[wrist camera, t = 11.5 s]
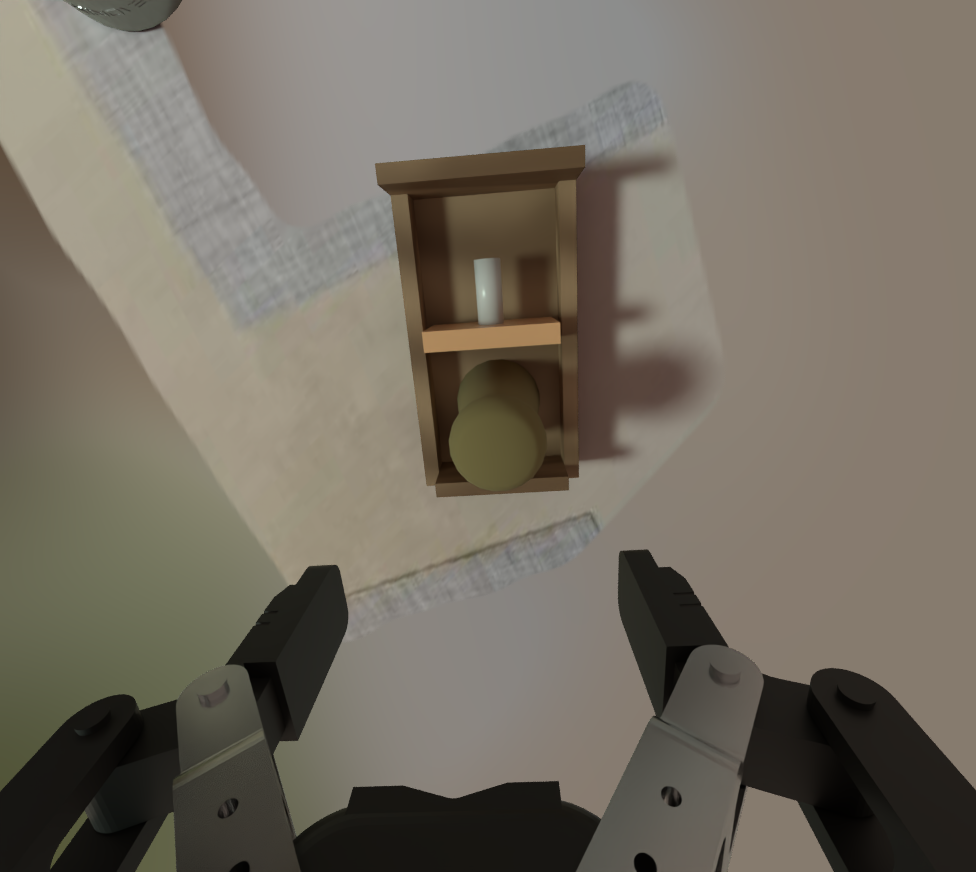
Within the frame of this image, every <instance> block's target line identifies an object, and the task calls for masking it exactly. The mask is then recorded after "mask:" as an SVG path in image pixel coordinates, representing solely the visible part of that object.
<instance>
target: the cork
mask: <svg viewBox="0 0 976 872" xmlns="http://www.w3.org/2000/svg"><path fill="white" fill-rule="evenodd" d="M457 402H458V411H459V414H458V416H457V418H456V419H455V421H454V422H453V425H452V428H451V432H450V437H449V448H450V455H451V458H452V460H453V462H454V464H455V466H456V468H457V470H458V472H459V473H460V474H461V475H462V476H463V477H464V478H465V479H466V480H467V481H468V482H470V483H471V484H473V485H475V486H477V487H479V488H481V489H485V490H490V491H509V490H511V489H514V488H517V487H519V486H522V485H523V484H525V483H526V482H527V481H529V480H530V479H531V478H533V477H534V475H535V474H536V473H537V471H538V470H539V468H540V467H541V465H542V463H543V461H544V457H545V454H546V450H547V435H546V431H545V429H544V426H543V424H542V421H541V419H540V416H539V415H538V412H539V406H540V395H539V389H538V387H537V384H536V382H535V379H534V378H533V377H532V376H531V374H530V373H529V372H528V371H527V370H526V369H525V368H523V367H522V366H520V365H518V364H517V363H515V362H511V361H507V360H503V359H498V360H488V361H486V362H483V363H481V364H478V365H476V366H475V367H474V368H473V369H472V370H470V371H469V372H468V373H467V374H466V375H465V377H464V379H463V380H462V382H461V384H460V386H459V391H458V395H457Z"/></svg>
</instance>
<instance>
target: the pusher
mask: <svg viewBox="0 0 976 872" xmlns="http://www.w3.org/2000/svg"><path fill="white" fill-rule="evenodd" d="M474 271H475V284H476V297H477V310H478V322H469V323H455V324H441V325H433V326H431V327H430V328H428V329H426V330H425V331H423V332H422V339H423V347H424V353H431V352H446V351H460V350H475V349H489V348H504V347H519V346H533V345H548V344H561V336H560V322H559V321H557V320H556V319H554V318H552V317H539V318H525V319H511V320H504V315H503V297H502V280H501V263H500V258H486V259H477V260H474Z"/></svg>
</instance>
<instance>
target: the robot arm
mask: <svg viewBox="0 0 976 872" xmlns="http://www.w3.org/2000/svg"><path fill="white" fill-rule="evenodd" d="M64 1H65V2H67V3H68V4H70V5H71V6H73V7H74V8H76V9H77V10H79V11H80V12H82V13H83V14H85V15H87V16H88V17H90V18H92V19H93V20H95V21H97V22H99V23H101V24H103V25H105V26H107V27H111V28H115V29H118V30H122V31H140V30H144V29H148V28H152V27H154V26H156V25H158V24H160V23H161V22H163V21H165V20H166V19H167V18H168V17H169V16H170V15H171V14H172V13H173V12H174V11H175V10H176V9H177V8H178V6H179V5H180V3H181V1H182V0H64ZM618 604H619V611H620V616H621V620H622V623H623V625H624V628H625V631H626V634H627V637H628V639H629V642H630V645H631V648H632V650H633V653H634V656H635V659H636V661H637V664H638V667H639V670H640V672H641V675H642V678H643V681H644V683H645V686H646V689H647V692H648V694H649V697H650V700H651V703H652V705H653V708H654V711H655V714H656V716H653V717H652V718H651V719H650V721H649V722H648V724H647V727H646V728H645V730H644V733H643V734H642V737H641V739H640V741H639V743H638V745H637V747H636V749H635V751H634V753H633V755H632V757H631V759H630V762H629V763H628V765H627V767H626V770H625V772H624V774H623V776H622V778H621V780H620V782H619V784H618V786H617V789H616V790H615V792H614V794H613V796H612V798H611V800H610V803H609V805H608V807H607V809H606V811H605V813H604V815H603V817H602V819H600V818H599V817H598V816H596V815H594V814H592V813H591V812H589V811H587V810H585V809H584V808H581V807H579V806H577V805H574V804H572V803H568V802H565V801H561V797H560V788H559V782H558V781H549V782H514V783H505V784H502V785H498V786H495V787H492V788H489V789H486V790H482V791H479V792H476V793H473V794H469V795H466V796H463V797H460V798H453V799H452V798H446V797H443V796H439V795H435V794H432V793H428V792H424V791H421V790H417V789H413V788H410V787H406V786H375V787H353V790H352V793H351V797H350V800H349V804H348V807H347V808H344V809H341V810H339V811H336V812H334V813H332V814H330V815H328V816H326V817H324V818H323V819H321V820H319V821H317V822H316V823H314V824H313V825H311V826H310V827H309V828H307V829H306V830H304V831H303V832H302V833H301V834H300V835H299V836H296V833H295V829H294V826H293V822H292V819H291V816H290V812H289V808H288V805H287V801H286V798H285V794H284V790H283V787H282V783H281V779H280V776H279V772H278V769H277V765H276V762H275V759H274V755H273V753H274V751H275V749H276V747H277V745H278V743H279V741H298V739H299V737H300V735H301V732H302V730H303V728H304V726H305V723H306V721H307V719H308V717H309V714H310V712H311V710H312V707H313V705H314V703H315V701H316V698H317V696H318V694H319V692H320V689H321V687H322V685H323V683H324V680H325V678H326V676H327V673H328V671H329V669H330V667H331V664H332V662H333V660H334V658H335V655H336V653H337V651H338V648H339V646H340V644H341V642H342V639H343V637H344V635H345V632H346V629H347V625H348V608H347V603H346V598H345V593H344V588H343V584H342V579H341V574H340V570H339V568H338V566H337V565H322V566H309V567H308V568H307V569H306V571H305V572H304V573H303V575H302V576H301V578H300V579H299V581H298V582H297V584H296V585H289V586H288V587H287V588H285V589H284V590H283V591H282V592H280V593H279V594H278V595H277V596H275V597H274V598H273V600H272V601H271V602H270V604H269V605H268V606H267V608H266V609H265V611H264V614H262V615H261V616H260V618H259V619H258V621H257V622H256V626H253V627H252V629H251V630H250V632H249V633H248V634H247V636H246V637H245V639H244V640H243V641H242V643H241V644H240V646H239V647H238V648H237V650H236V651H235V652H234V654H233V655H232V657H231V658H230V659H229V661H228V663H227V664H226V665H225V666H221V667H217V668H214V669H212V670H210V671H208V672H206V673H204V674H202V675H201V676H199V677H197V678H196V679H195V680H193V681H192V682H191V683H190V684H189V685H188V686H187V687H186V688H185V689H184V690H183V691H182V693H181V694H180V696H179V698H178V699H177V700H174V701H171V702H167V703H164V704H160V705H157V706H154V707H150V708H147V709H143V710H139V708H138V706H137V703H136V701H135V699H134V698H133V697H132V696H129V695H125V694H122V695H114V696H110V697H106V698H104V699H101V700H98V701H96V702H94V703H92V704H90V705H88V706H86V707H85V708H83V709H82V710H80V711H79V712H77V713H76V714H74V715H73V716H72V717H71V718H69V719H68V720H67V721H66V722H65V723H64V724H63V725H62V726H61V727H60V728H59V729H58V730H57V731H56V732H55V733H54V734H53V735H52V736H51V738H50V739H49V740H48V741H47V742H46V743H45V744H44V745H43V746H42V747H41V748H40V749H39V750H38V752H37V753H36V754H35V755H34V756H33V757H32V758H31V759H30V760H29V761H28V762H27V763H26V764H25V766H24V767H23V768H22V769H21V770H20V771H19V772H18V773H17V774H16V775H15V776H14V777H13V779H12V780H11V781H10V782H9V783H8V784H7V785H6V786H5V787H4V788H3V789H2V790H1V792H0V872H135V871H136V869H137V867H138V866H139V864H140V862H141V860H142V859H143V857H144V855H145V854H146V852H147V850H148V848H149V847H150V845H151V843H152V841H153V839H154V838H155V836H156V834H157V833H158V831H159V829H160V827H161V826H162V824H163V822H164V820H165V818H166V817H167V815H168V813H171V812H174V828H175V848H176V869H177V872H728V867H729V863H730V859H731V854H732V850H733V846H734V842H735V837H736V834H737V830H738V825H739V821H740V817H741V813H742V809H743V804H744V800H745V796H746V792H747V788H748V787H752V788H755V789H759V790H762V791H765V792H769V793H772V794H776V795H780V796H782V797H786V798H790V799H793V800H796V801H798V803H799V805H800V807H801V809H802V811H803V813H804V815H805V817H806V818H807V821H808V823H809V824H810V827H811V828H812V830H813V832H814V834H815V836H816V838H817V840H818V842H819V844H820V846H821V848H822V850H823V852H824V853H825V855H826V857H827V859H828V861H829V863H830V865H831V867H832V869H833V871H834V872H976V790H975V789H974V788H973V787H972V785H971V784H970V783H969V782H968V781H967V780H966V779H965V778H964V776H963V775H962V774H961V773H960V772H959V771H958V770H957V768H956V767H955V766H954V765H953V764H952V763H951V761H950V760H949V759H948V758H947V757H946V756H945V755H944V754H943V752H942V751H941V750H940V749H939V748H938V747H937V746H936V744H935V743H934V742H933V741H932V740H931V739H930V738H929V736H928V735H927V734H926V733H925V732H924V731H923V730H922V729H921V727H920V726H919V725H918V724H917V723H916V722H915V721H914V720H913V718H912V717H911V716H910V715H909V714H908V713H907V711H906V710H905V709H904V708H903V707H902V706H901V705H900V703H899V702H898V701H897V700H896V699H895V698H894V697H893V696H892V695H891V694H890V693H889V692H888V691H887V690H886V689H884V688H883V687H882V686H880V685H879V684H877V683H876V682H874V681H872V680H870V679H869V678H866V677H864V676H862V675H860V674H857V673H854V672H851V671H848V670H843V669H836V668H835V669H834V668H828V669H822V670H819V671H817V672H816V673H815V674H814V675H813V676H812V678H811V682H810V685H806V684H801V683H797V682H791V681H787V680H782V679H778V678H774V677H770V676H767V675H765V674H762V673H761V671H760V670H759V668H758V667H757V665H756V664H755V663H754V662H753V661H752V660H750V658H748V657H747V656H745V655H744V654H742V653H740V652H739V651H736V650H734V649H732V648H729V647H728V645H727V644H726V642H725V640H724V639H723V637H722V636H721V634H720V632H719V631H718V629H717V628H716V626H715V625H714V623H713V621H712V620H711V618H710V617H709V615H708V613H707V612H706V610H705V609H704V607H703V606H701V603H700V601H699V599H698V598H697V596H696V595H694V591H693V590H692V588H691V587H690V585H689V583H688V582H687V580H686V579H685V578H684V577H683V576H681V575H680V574H679V573H677V572H676V571H675V570H673V569H672V568H671V567H659V568H658V566H657V564H656V562H655V561H654V559H653V557H652V555H651V553H650V552H649V550H629V551H620V553H619V573H618ZM84 810H85V812H86V814H87V816H88V818H87V819H86V821H85V822H84V824H83V825H82V827H81V828H80V829H79V831H78V832H77V833H76V835H75V836H74V838H73V839H72V840H71V842H70V843H69V844H68V846H67V847H66V849H65V850H64V851H63V853H62V854H61V856H60V857H59V858H58V860H57V861H56V863H55V864H54V865H53V867H52V868H51V870H50V865H51V862H52V859H53V856H54V854H55V852H56V850H57V848H58V846H59V844H60V843H61V841H62V840H63V839H64V837H65V836H66V835H67V833H68V832H69V830H70V829H71V828H72V826H73V825H74V824H75V822H76V821H77V820H78V818H79V817H80V815H81V814H82V813H83V811H84Z"/></svg>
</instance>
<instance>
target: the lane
mask: <svg viewBox="0 0 976 872" xmlns="http://www.w3.org/2000/svg"><path fill="white" fill-rule="evenodd" d="M375 167H376V175H377V183H378V185H379V186H380V187H381V188H382V189H383V190H385V191H386V192H387V193H388V194H389V195H391V202H392V211H393V219H394V227H395V235H396V243H397V251H398V259H399V267H400V275H401V283H402V291H403V299H404V307H405V315H406V323H407V331H408V339H409V347H410V355H411V363H412V371H413V379H414V387H415V395H416V403H417V411H418V419H419V427H420V435H421V443H422V451H423V459H424V468H425V476H426V484H427V486H432V485H435V487H436V495H437V497H451V496H470V495H488V494H507V493H525V492H544V491H563V490H569V478H578V477H579V453H578V343H577V232H576V179H577V178H578V176H579V175H580V173H581V172H582V171H583V169H584V168H585V145H579V146H568V147H556V148H545V149H534V150H523V151H511V152H500V153H489V154H478V155H467V156H456V157H444V158H433V159H421V160H410V161H399V162H387V163H376V164H375ZM486 258H500V263H501V280H502V297H503V315H504V320H511V319H525V318H539V317H552V318H554V319H556V320H557V321H559V322H560V336H561V344H548V345H533V346H519V347H504V348H489V349H475V350H460V351H446V352H431V353H424V347H423V339H422V332H423V331H425V330H426V329H428V328H430V327H431V326H433V325H441V324H455V323H469V322H478V310H477V297H476V284H475V271H474V260H477V259H486ZM498 359H503V360H507V361H511V362H515V363H517V364H518V365H520V366H522V367H523V368H525V369H526V370H527V371H528V372H529V373H530V374H531V376H532V377H533V378H534V379H535V382H536V384H537V387H538V389H539V395H540V406H539V412H538V415H539V416H540V419H541V421H542V424H543V426H544V429H545V431H546V435H547V450H546V454H545V457H544V461H543V463H542V465H541V467H540V468H539V470H538V471H537V473H536V474H535V475H534V477H533V478H531V479H530V480H529V481H527V482H526V483H525V484H523V485H522V486H519V487H517V488H514V489H511V490H509V491H490V490H485V489H481V488H479V487H477V486H475V485H473V484H471V483H470V482H468V481H467V480H466V479H465V478H464V477H463V476H462V475H461V474H460V473H459V472H458V470H457V468H456V466H455V464H454V462H453V460H452V458H451V455H450V448H449V437H450V432H451V428H452V425H453V422H454V421H455V419H456V418H457V416H458V414H459V411H458V402H457V395H458V391H459V386H460V384H461V382H462V380H463V379H464V377H465V375H466V374H467V373H468V372H469V371H470V370H472V369H473V368H474V367H475V366H476V365H478V364H481V363H483V362H486V361H488V360H498Z"/></svg>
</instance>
